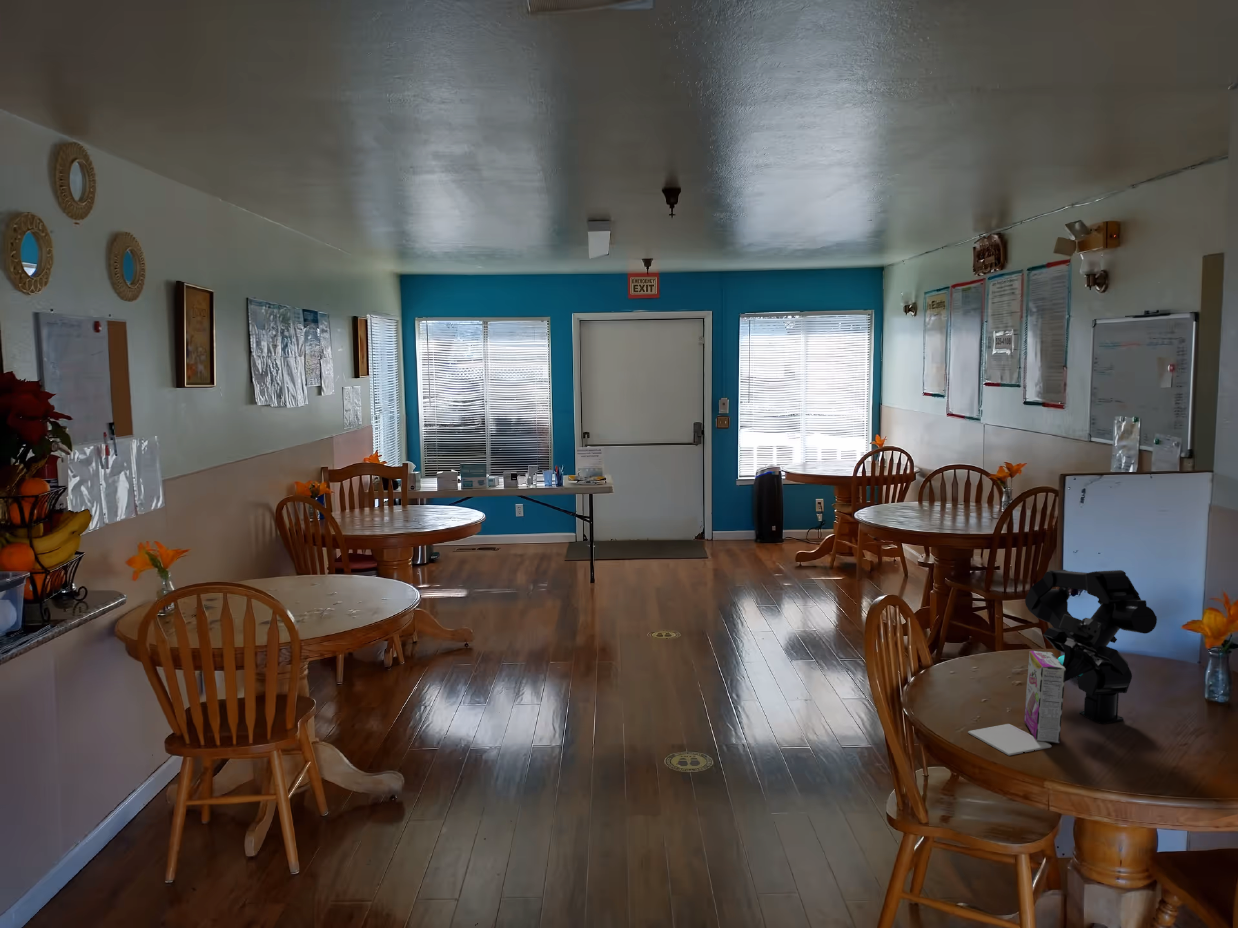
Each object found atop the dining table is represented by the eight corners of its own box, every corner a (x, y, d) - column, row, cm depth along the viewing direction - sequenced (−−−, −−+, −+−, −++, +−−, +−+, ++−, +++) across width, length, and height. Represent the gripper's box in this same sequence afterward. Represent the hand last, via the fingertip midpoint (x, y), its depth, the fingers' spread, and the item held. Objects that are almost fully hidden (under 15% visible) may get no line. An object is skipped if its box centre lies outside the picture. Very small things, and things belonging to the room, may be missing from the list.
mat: (1008, 725, 198) (1008, 723, 198) (1051, 747, 187) (1051, 745, 187) (968, 732, 195) (968, 731, 194) (1008, 755, 183) (1008, 753, 183)
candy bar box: (1022, 721, 199) (1028, 649, 198) (1046, 724, 198) (1052, 651, 197) (1034, 741, 188) (1041, 665, 187) (1060, 744, 187) (1067, 667, 186)
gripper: (1051, 591, 203) (1009, 644, 201) (1119, 612, 185) (1074, 671, 183) (1078, 622, 206) (1037, 674, 204) (1147, 645, 188) (1104, 703, 186)
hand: (1061, 680), depth 194 cm, fingers closed
